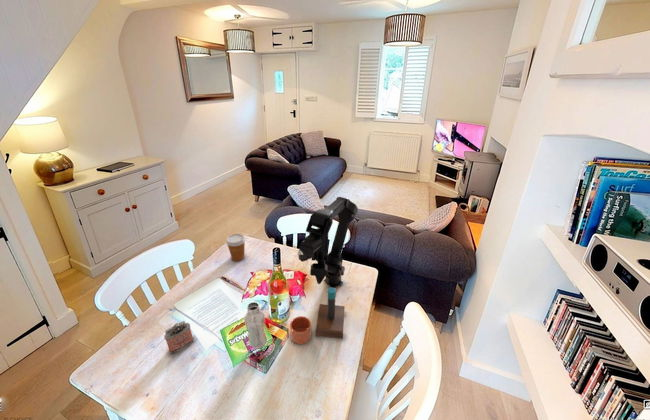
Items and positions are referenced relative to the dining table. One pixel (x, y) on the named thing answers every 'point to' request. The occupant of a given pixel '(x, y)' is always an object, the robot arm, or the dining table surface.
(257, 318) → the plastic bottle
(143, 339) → the dining table surface
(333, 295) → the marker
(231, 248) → the disposable coffee cup
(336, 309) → the shelf
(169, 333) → the broken red brick
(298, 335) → the pen cup
